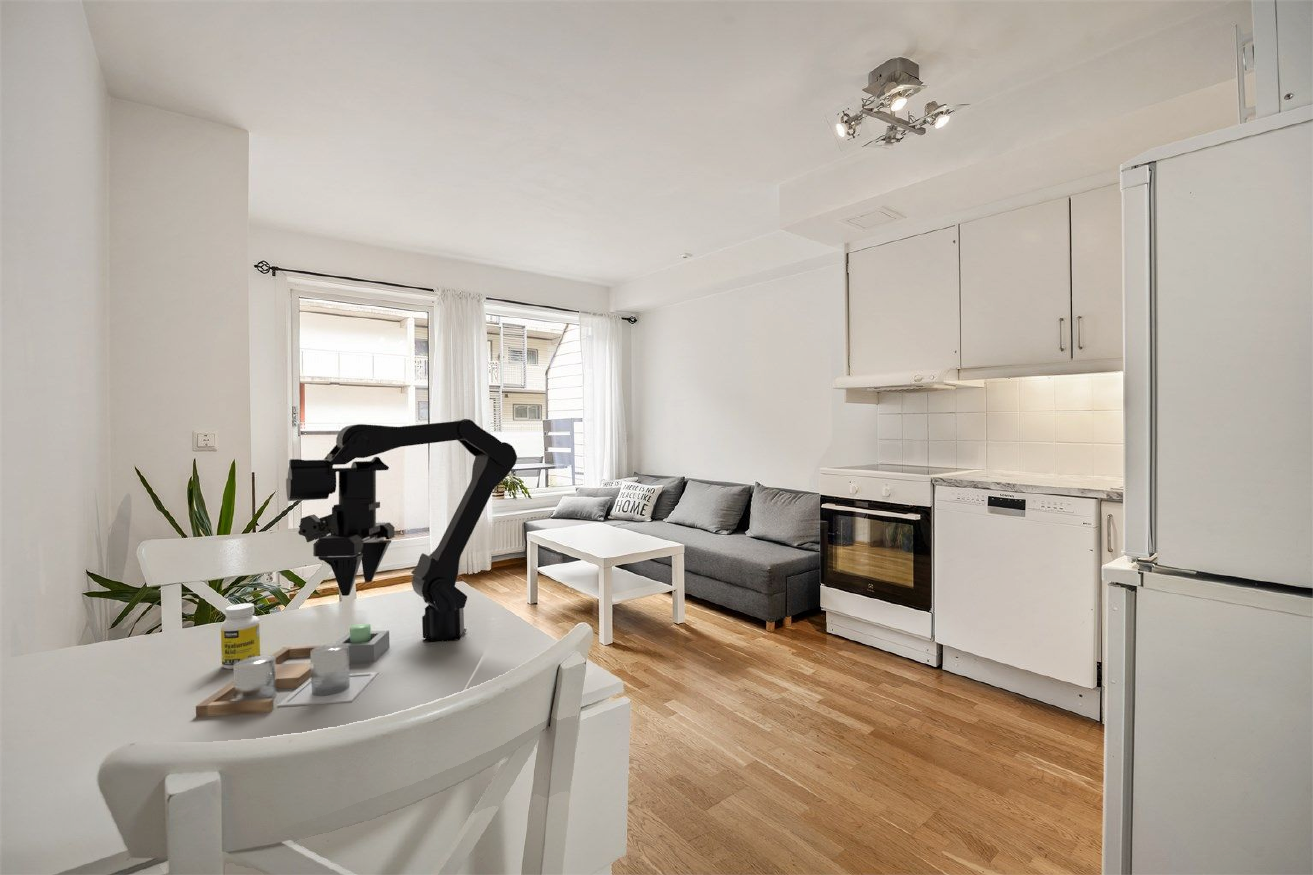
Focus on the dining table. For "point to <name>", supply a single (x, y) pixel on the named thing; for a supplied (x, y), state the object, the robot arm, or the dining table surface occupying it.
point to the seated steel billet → (255, 678)
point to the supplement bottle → (239, 635)
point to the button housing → (367, 647)
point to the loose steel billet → (330, 669)
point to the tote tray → (307, 698)
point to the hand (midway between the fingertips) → (357, 588)
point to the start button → (360, 633)
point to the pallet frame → (284, 679)
